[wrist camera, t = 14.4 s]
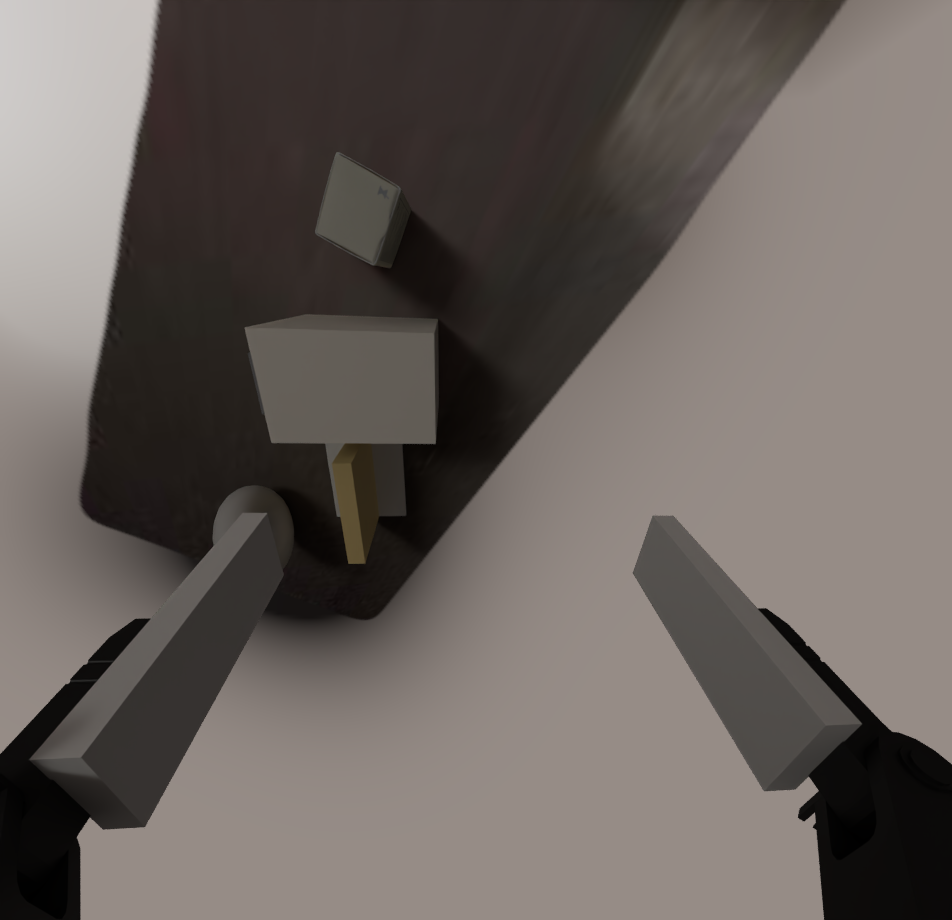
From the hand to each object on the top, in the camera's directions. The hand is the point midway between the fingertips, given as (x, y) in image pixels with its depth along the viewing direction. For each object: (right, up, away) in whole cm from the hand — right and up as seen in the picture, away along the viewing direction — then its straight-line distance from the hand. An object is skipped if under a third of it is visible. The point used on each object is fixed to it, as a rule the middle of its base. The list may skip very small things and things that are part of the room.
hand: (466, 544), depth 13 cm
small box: (-8, +23, +18) cm, 30 cm away
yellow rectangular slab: (-12, +1, +27) cm, 30 cm away
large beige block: (-9, +13, +22) cm, 27 cm away
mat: (-12, +2, +27) cm, 30 cm away
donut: (-22, -2, +29) cm, 37 cm away
